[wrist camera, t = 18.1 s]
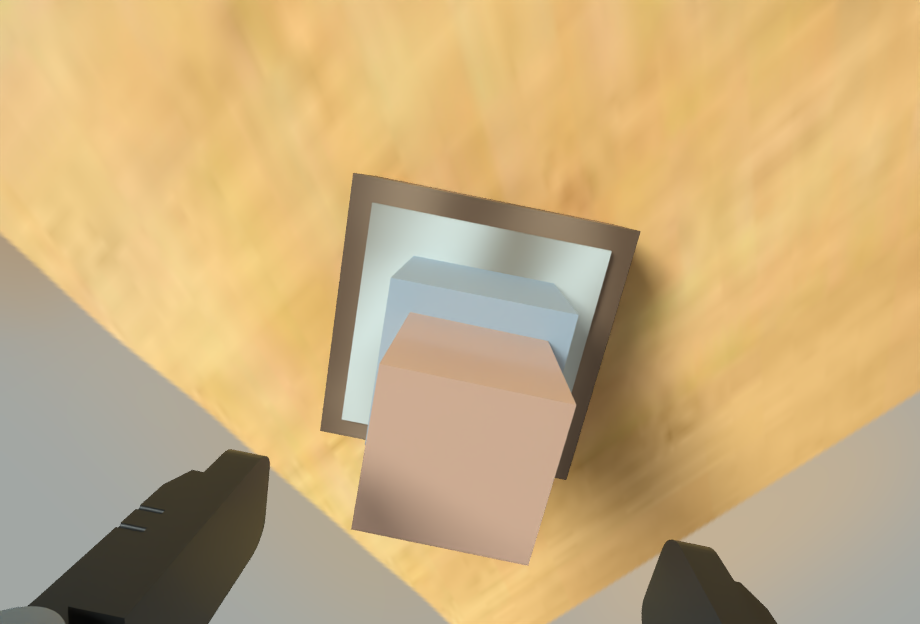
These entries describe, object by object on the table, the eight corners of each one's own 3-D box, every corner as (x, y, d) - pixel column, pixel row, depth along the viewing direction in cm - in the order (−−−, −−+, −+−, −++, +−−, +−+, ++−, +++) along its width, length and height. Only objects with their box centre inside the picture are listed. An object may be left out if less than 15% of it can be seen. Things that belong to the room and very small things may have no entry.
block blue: (554, 283, 19) (578, 314, 14) (521, 410, 21) (534, 477, 16) (413, 255, 19) (390, 277, 14) (392, 385, 21) (364, 444, 16)
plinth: (613, 224, 23) (642, 232, 18) (553, 436, 26) (567, 483, 22) (375, 175, 22) (351, 172, 18) (344, 394, 26) (318, 433, 21)
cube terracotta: (548, 340, 15) (576, 404, 10) (515, 461, 16) (528, 565, 11) (409, 312, 14) (379, 364, 10) (387, 435, 16) (351, 529, 11)
